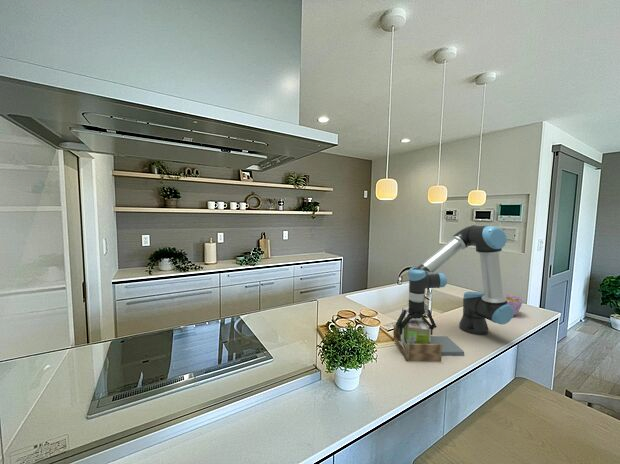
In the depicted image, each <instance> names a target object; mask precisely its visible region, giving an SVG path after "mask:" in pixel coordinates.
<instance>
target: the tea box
mask: <svg viewBox="0 0 620 464" xmlns="http://www.w3.org/2000/svg"><path fill="white" fill-rule="evenodd" d="M406 317H407V316H405V317H404V319H405V318H406ZM404 319H403V320H404ZM428 327H429V326H428V325H427V324H426V323H425V321H424V320H423V319H422V318H420V319H418V318H416V319H414V318H412V319H411V320H410V321H409V322H408V323H407V324H406V325H405V326H404V341H403V344H404V349H406V343H410V344H429V333H430V329H429V328H428Z"/></svg>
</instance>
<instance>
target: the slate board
mask: <svg viewBox="0 0 620 464" xmlns="http://www.w3.org/2000/svg"><path fill="white" fill-rule="evenodd" d="M438 343H441V344H442V354H441V357H443V356H446V357H447V356H448V357H449V356H452V357H455V356H457V357H459V356H461V357H464V356H465V351H464V350H463V349H462V348H461V347H460V346H459V345H457V344H456V343H455V342H454V341H453V340H452V339H451V338H450V337H449V336H446V335H431V342H429V344H438Z"/></svg>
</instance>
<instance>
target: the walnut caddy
mask: <svg viewBox="0 0 620 464" xmlns="http://www.w3.org/2000/svg"><path fill="white" fill-rule="evenodd" d="M403 328H404V327H403ZM392 332H393V337H392V338H393V339H394V340H395V342H396V343H395V342H394V343H395V345H396V346H397V348H398V350H399V351H400V353H401V354H402V355H403V357H404V359H405V361H406V362H442V356H441V354H442V344H441V343H438V344H410V343H406V348H405V347H403V345H402V344H401V342H403V341H402V340H401V334H400V333H399V327H397V326H396V324H394V325H393V331H392ZM393 339H392V340H393ZM394 340H393V341H394Z"/></svg>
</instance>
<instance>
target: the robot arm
mask: <svg viewBox="0 0 620 464" xmlns="http://www.w3.org/2000/svg"><path fill="white" fill-rule="evenodd" d="M507 240H508V239H507V235H506V233H505V231H504V230H503V229H502V228H500V227H498V226H493V225H469V226H466V227H464V228H461V230H458V231H457V232H456V233H454V234H453V235H452V236H451V237H450V240H448V242H446V243H445V244H444V245H442V246H441V248H439V249H438V250H436V252H434V253H433V254H431V256H430V257H428V258H427V259H426V260H425V261H423V262H422V263H421V264H420V265H419V266H417V267H416V266H413V267H411V268H409V270H408V272H407V275H408V282H409V283H408V309H405V307H404V308H402V309H401V313H400V315H399V317H398V319H397V320H396V322H395V325H396V326H397V327H399V333H400V334H401V340H402V341H401V342H404V328H403V327H404V326H405V325H406V324H407V323H408V322H409V321H410V320H411V319H412V318H414V319H416V318H418V319H420V318H422V319H423V320H424V321H425V323H426V324H427V326H428V328H429V329H430V333H429V342H431V336H433V334H434V333H433V332H434V331H433V330H434V329H437V325H436V323H435V320H434V318H433V316H432V311H431V310H430V309H429V308H426V309H425V299H426V297H425V296H426V289H440V288H441V289H442V288H445V287H446V286H447V283H448V279H447V275H445V274H444V273H442V272H436V270H439V268H440V267H442V266H443V265H444V264H445V263H446V262H448V261H449V260H451V258H452V257H454V256H455V255H457V253H459V252H460V251H461V250H465V249H466V248H468V247H472V246H473V247H475V251H476V253H477V254H479V259H480V260H479V261H480V268H481V277H482V287H483V292H482V291H481V292H480V291H466V292H464V293H463V298H462V299H463V302H462V317H461V319H460V321H459V324H458V325H459V327H458V328H459V329H461V331H464V332H466V333H468V334H472V335H478V336H483V335H485V336H486V335H488V334H489V327H488V323H487V320H488V321H490V322H492V323H495V324H499V325H506V324H508V323H509V322H510V321H511V320H512V319H513V317H514V315H515V314H514V309H513V307H511V306H510V305H509V304H507V298H506V297H505V296H503V294H504V291H503V283H502V282H503V281H502V273H501V271H502V270H501V263H500V253H501V252H502V251H503V248H504V247H505V246H506V243H507ZM406 314H407V316H406ZM425 314H426V315H427V318H428V319H429V321H430V322H429V321H428V320H427V318H426V317H425V316H424V315H425ZM404 317H406V318H405V319H404Z"/></svg>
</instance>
